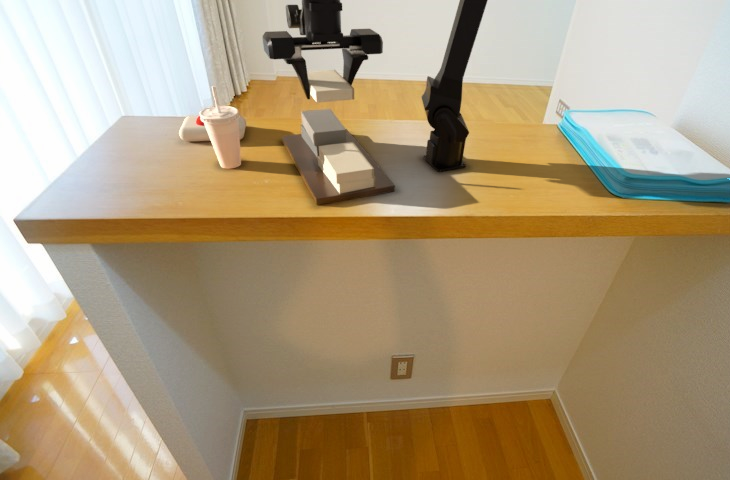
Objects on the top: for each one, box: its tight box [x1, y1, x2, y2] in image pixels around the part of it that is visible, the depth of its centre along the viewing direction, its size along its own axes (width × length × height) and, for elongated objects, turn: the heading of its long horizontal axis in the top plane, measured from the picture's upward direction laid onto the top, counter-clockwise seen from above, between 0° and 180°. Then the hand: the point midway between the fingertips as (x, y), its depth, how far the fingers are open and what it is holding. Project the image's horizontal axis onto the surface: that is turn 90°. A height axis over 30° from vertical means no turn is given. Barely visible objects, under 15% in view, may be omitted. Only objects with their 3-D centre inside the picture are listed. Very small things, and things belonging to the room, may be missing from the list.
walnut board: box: [281, 128, 396, 206], centre depth 79 cm, size 14×26×1 cm, turn 25°
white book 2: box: [319, 142, 374, 184], centre depth 72 cm, size 6×11×2 cm, turn 24°
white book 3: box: [317, 156, 375, 194], centre depth 73 cm, size 6×11×2 cm, turn 28°
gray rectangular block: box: [300, 123, 348, 158], centre depth 82 cm, size 6×11×3 cm, turn 27°
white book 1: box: [307, 69, 355, 104], centre depth 72 cm, size 6×11×2 cm, turn 24°
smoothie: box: [199, 85, 242, 169], centre depth 72 cm, size 6×6×14 cm
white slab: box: [178, 115, 247, 142], centre depth 85 cm, size 12×4×10 cm
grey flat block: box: [300, 108, 347, 146], centre depth 80 cm, size 6×11×3 cm, turn 23°
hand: (327, 97), depth 73 cm, fingers closed on white book 1, 6 cm apart
